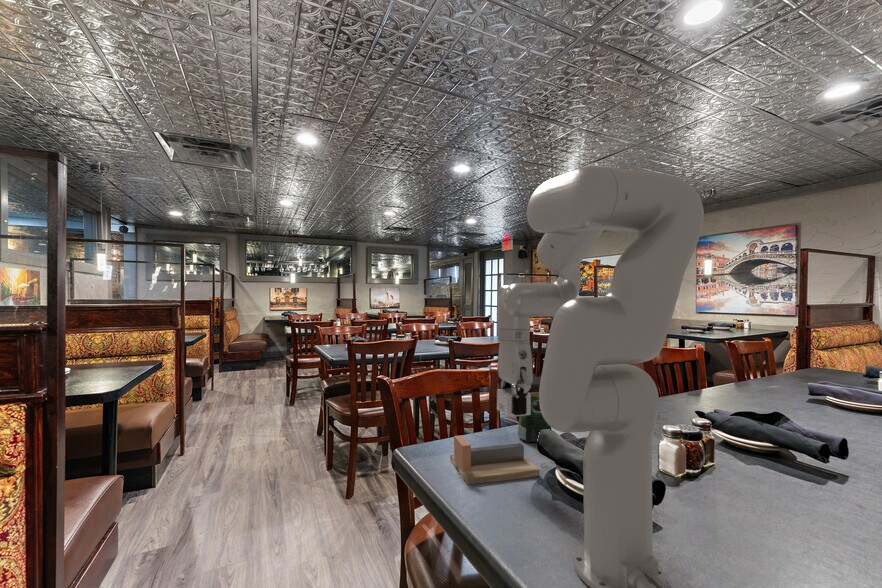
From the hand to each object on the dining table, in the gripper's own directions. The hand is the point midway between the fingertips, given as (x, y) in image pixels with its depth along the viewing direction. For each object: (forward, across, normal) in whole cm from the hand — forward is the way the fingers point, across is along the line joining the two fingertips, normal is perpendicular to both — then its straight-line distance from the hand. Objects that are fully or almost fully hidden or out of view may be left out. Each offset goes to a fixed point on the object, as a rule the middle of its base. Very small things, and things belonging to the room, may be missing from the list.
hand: (513, 409), depth 93 cm
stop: (+14, +4, +12) cm, 19 cm away
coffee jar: (+16, +20, -16) cm, 30 cm away
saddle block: (+1, 0, 0) cm, 1 cm away
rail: (+14, +4, +3) cm, 15 cm away
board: (+15, +4, +4) cm, 16 cm away
